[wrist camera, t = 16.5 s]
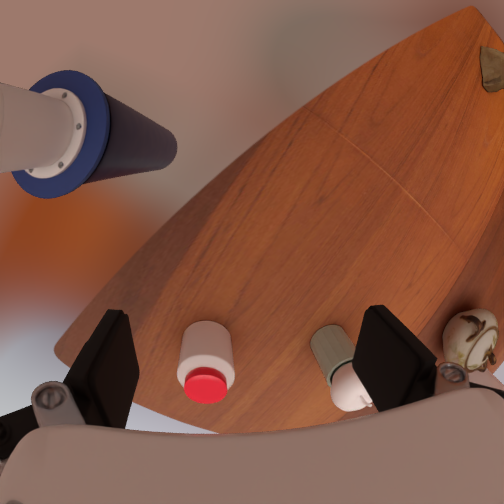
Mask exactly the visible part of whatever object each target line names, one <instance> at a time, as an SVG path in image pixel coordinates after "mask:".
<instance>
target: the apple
mask: <svg viewBox="0 0 504 504" xmlns="http://www.w3.org/2000/svg"><path fill="white" fill-rule="evenodd" d="M331 398H332V401H333V403H334V404H335V405H336V406H337V407H339V408H340V409H342V410H344V411H354V410H359V409H362V408H364V407H365V406H369V407H371V406H372V405H371V404H370V403H371V402H372V399H371V398H370V396H369V394H368V393H367V391H366V389H365V388H364V386H363V385H362V383H361V381H360V380H359V378H358V376H357V375H356V373H355V371H354V370H353V368H352V362H350V363H347V364H345V365H343V366H341V367H340V368H339V369H338V370H337V371H336V372H335V374H334V375H333V379H332V385H331Z"/></svg>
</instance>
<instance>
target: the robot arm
mask: <svg viewBox="0 0 504 504" xmlns="http://www.w3.org/2000/svg"><path fill="white" fill-rule="evenodd" d="M66 96H67V97H66ZM80 126H81V128H80ZM86 127H87V119H86V112H85V108H84V106H83V104H82V102H81V100H80V99H79V98H78V96H77V95H75V94H74V93H73V92H71V91H68V90H66V89H62V88H53V89H50V90H47V91H45V92H43V93H41V94H40V93H37V92H33V91H30V90H26V89H22V88H19V87H15V86H11V85H8V84H4V83H0V173H4V172H10V171H18V170H25V171H26V172H27V173H28V174H30V175H31V176H33V177H36V178H51V177H54V176H57V175H59V174H61V173H62V172H64V171H65V170H66V169H67V168H68V167H69V166H70V165H71V164H72V163H73V162H74V160H75V159H76V158H77V156H78V154H79V152H80V150H81V148H82V145H83V143H84V139H85V135H86ZM436 361H437V358H436V357H435V356H434V355H433V353H432V352H431V351H430V350H429V349H428V348H427V347H426V346H425V345H424V344H423V343H422V342H421V341H420V340H419V339H418V338H417V337H416V336H415V335H414V334H413V333H412V332H411V331H410V330H409V329H408V328H407V327H406V326H405V325H404V324H403V323H402V322H401V321H400V320H399V319H398V318H397V317H396V316H395V315H394V314H392V313H391V312H390V311H389V310H388V309H387V308H386V307H385V306H384V305H374V306H370V307H369V308H368V309H367V310H366V311H365V313H364V317H363V322H362V326H361V330H360V334H359V337H358V341H357V345H356V348H355V352H354V356H353V359H352V368H353V370H354V371H355V373H356V375H357V376H358V378H359V380H360V381H361V383H362V385H363V386H364V388H365V389H366V391H367V393H368V394H369V396H370V398H371V399H372V401H373V403H374V405H375V406H376V408H377V410H378V411H379V412H378V413H375V414H370V415H366V416H362V417H358V418H353V419H348V420H343V421H338V422H333V423H328V424H322V425H316V426H309V427H302V428H295V429H286V430H277V431H266V432H252V433H233V434H184V433H165V432H149V431H139V430H129V429H125V426H126V422H127V418H128V415H129V411H130V407H131V404H132V400H133V396H134V393H135V389H136V386H137V382H138V379H139V366H138V361H137V357H136V353H135V348H134V343H133V338H132V333H131V328H130V323H129V317H128V315H127V314H124V312H123V311H122V310H111V309H108V310H107V311H106V313H105V315H104V316H103V318H102V319H101V321H100V322H99V324H98V326H97V327H96V329H95V330H94V332H93V334H92V335H91V337H90V339H89V340H88V341H87V342H86V343H85V345H84V346H83V348H82V350H81V351H80V353H79V355H78V356H77V358H76V360H75V361H74V363H73V365H72V367H71V368H70V370H69V372H68V374H67V376H66V377H65V379H64V381H63V383H61V382H58V381H49V382H45V383H43V384H41V385H39V386H38V387H37V388H36V389H35V390H34V391H33V393H32V396H31V402H32V405H30V406H28V407H25V408H22V409H20V410H17V411H15V412H12V413H9V414H7V415H4V416H1V417H0V504H504V391H503V390H500V389H496V388H492V387H488V386H484V385H480V384H476V383H473V382H469V375H468V372H467V371H466V369H465V368H463V367H462V366H461V365H459V364H457V363H454V362H443V363H440V364H439V365H438V367H436V365H435V363H436Z"/></svg>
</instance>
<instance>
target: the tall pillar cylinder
mask: <svg viewBox="0 0 504 504" xmlns="http://www.w3.org/2000/svg"><path fill="white" fill-rule="evenodd" d="M482 367H483V365H482ZM468 375H469V382H473V383H476V384H480V385H484V386H488V387H492V388H496V389H500V390H503V391H504V385H503V384H502V383H501V382H500V381H499V380H498V379H497V378H496V377H495V376H494V375H493V374H492V373H491V372H490V371H489V370H488V369H487V368H486V371H485V372H480V371H478V370H477V371H474V372H472V373H468Z"/></svg>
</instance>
